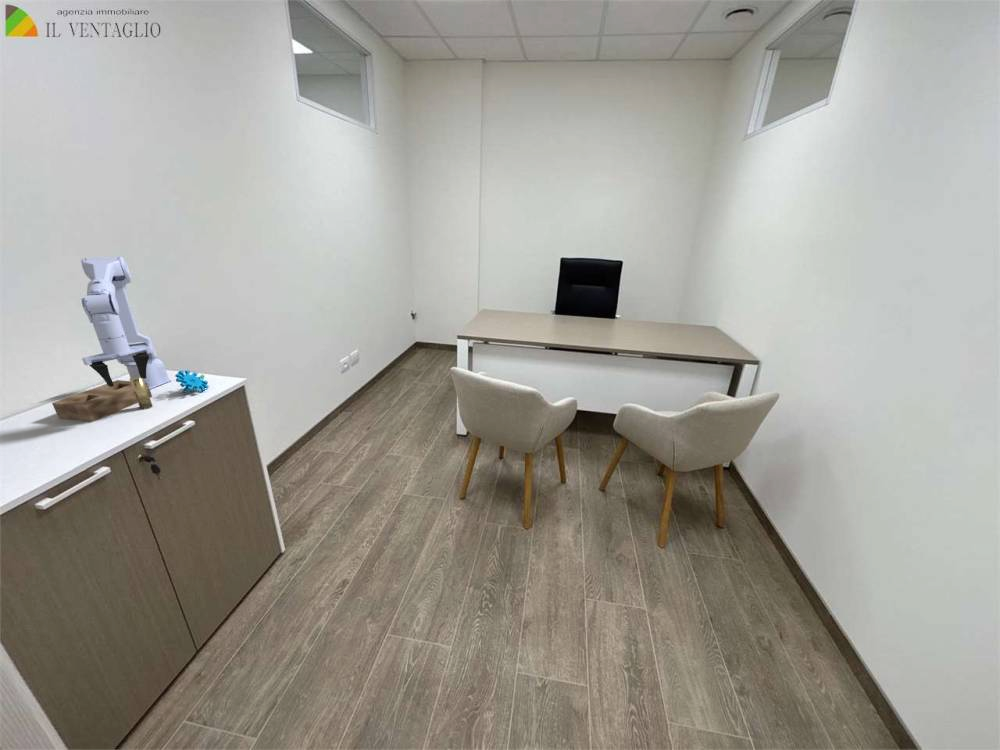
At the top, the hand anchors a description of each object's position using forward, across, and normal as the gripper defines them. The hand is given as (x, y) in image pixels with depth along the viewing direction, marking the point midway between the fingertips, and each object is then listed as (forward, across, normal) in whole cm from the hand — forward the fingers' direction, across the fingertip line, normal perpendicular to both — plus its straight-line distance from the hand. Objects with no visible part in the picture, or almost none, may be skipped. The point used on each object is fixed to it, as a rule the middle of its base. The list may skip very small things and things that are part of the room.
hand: (127, 381), depth 117 cm
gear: (+10, +18, +5) cm, 21 cm away
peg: (+10, +3, +4) cm, 11 cm away
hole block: (+10, -3, +14) cm, 18 cm away
